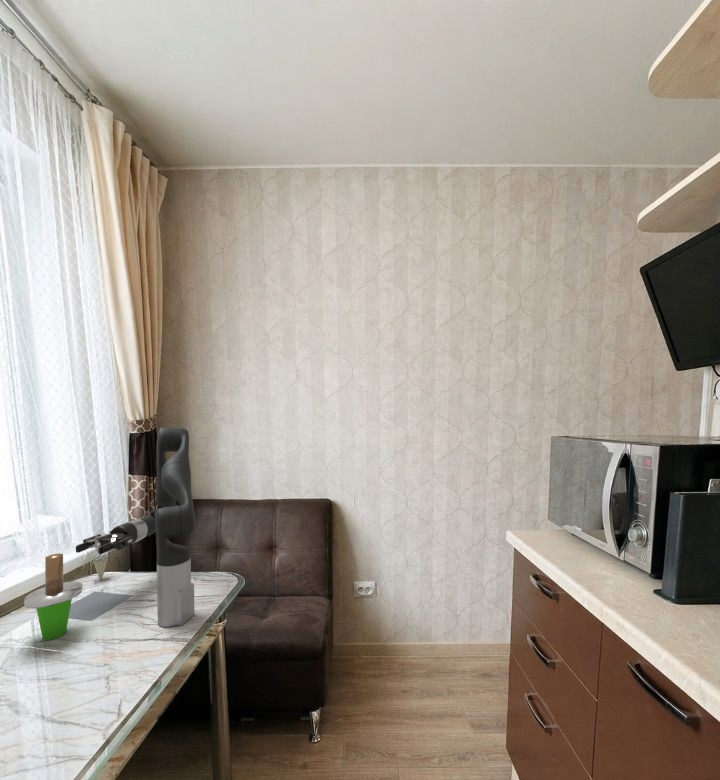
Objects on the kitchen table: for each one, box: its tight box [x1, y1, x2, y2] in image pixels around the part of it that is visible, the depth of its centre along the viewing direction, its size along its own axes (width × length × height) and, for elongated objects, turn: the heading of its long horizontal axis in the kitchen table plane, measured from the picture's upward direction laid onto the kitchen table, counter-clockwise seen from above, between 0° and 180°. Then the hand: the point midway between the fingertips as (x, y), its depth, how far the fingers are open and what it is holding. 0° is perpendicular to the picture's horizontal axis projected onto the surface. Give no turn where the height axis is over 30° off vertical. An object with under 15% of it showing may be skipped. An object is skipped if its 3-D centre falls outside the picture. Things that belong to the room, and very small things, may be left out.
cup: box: [35, 598, 73, 641], centre depth 112 cm, size 9×9×11 cm
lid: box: [23, 552, 83, 609], centre depth 112 cm, size 13×13×11 cm
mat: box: [68, 590, 134, 622], centre depth 128 cm, size 16×16×1 cm
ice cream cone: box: [91, 543, 109, 581], centre depth 147 cm, size 5×5×15 cm
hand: (87, 550), depth 123 cm, fingers open, 8 cm apart
